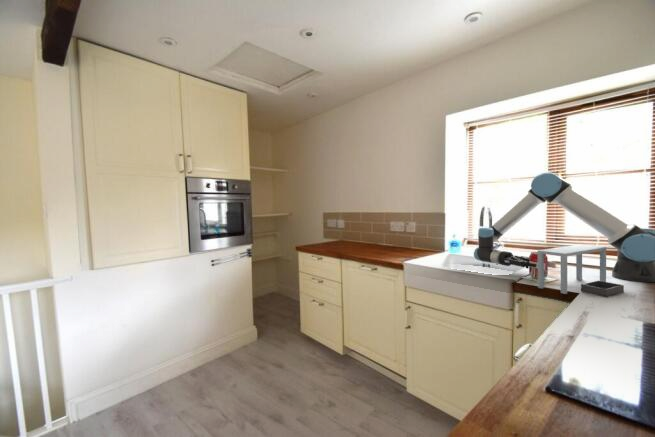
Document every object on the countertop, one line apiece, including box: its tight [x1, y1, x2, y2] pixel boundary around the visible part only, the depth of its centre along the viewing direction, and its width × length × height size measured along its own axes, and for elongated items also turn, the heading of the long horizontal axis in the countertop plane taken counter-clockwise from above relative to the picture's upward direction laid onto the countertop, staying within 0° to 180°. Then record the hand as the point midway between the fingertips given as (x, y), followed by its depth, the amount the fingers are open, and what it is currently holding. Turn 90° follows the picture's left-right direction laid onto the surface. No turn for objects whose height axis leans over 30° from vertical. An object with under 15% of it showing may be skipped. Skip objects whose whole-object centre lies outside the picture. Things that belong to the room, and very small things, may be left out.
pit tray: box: [580, 280, 625, 298], centre depth 109 cm, size 12×8×3 cm, turn 112°
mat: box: [521, 275, 559, 284], centre depth 131 cm, size 10×10×1 cm
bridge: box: [537, 244, 607, 295], centre depth 118 cm, size 30×10×16 cm, turn 112°
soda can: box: [528, 251, 549, 279], centre depth 131 cm, size 7×7×12 cm
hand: (549, 265), depth 126 cm, fingers closed on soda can, 7 cm apart
